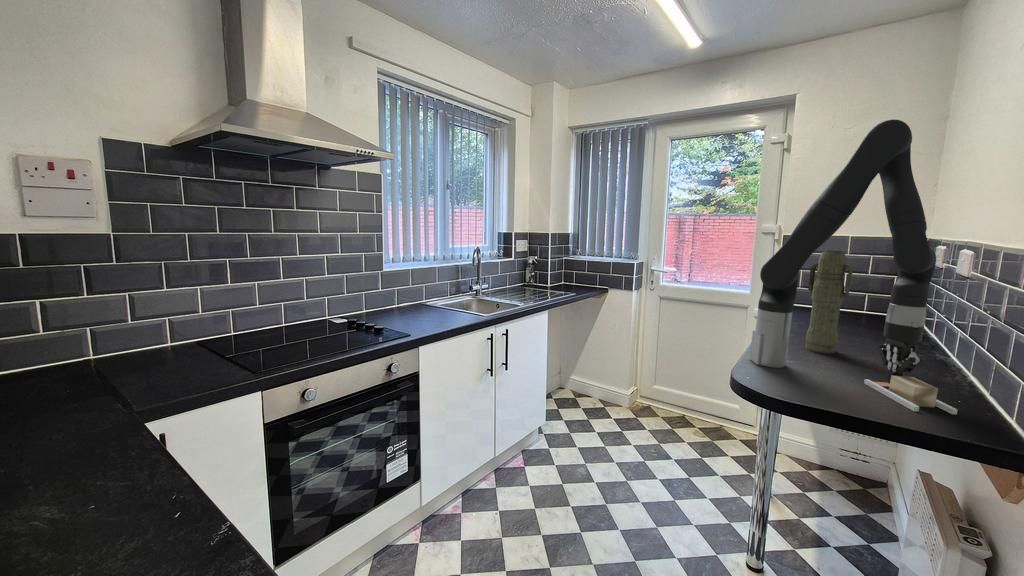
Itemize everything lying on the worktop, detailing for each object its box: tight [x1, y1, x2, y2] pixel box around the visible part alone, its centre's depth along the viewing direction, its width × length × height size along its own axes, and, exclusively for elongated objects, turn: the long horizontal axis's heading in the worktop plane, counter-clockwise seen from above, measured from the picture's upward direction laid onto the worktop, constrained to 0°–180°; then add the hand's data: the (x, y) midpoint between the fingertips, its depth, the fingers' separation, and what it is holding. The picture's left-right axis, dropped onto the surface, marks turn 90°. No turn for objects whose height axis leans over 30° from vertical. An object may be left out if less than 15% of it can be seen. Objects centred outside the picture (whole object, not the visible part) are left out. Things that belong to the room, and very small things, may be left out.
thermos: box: [805, 249, 853, 355], centre depth 148 cm, size 9×12×35 cm
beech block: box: [888, 375, 939, 408], centre depth 108 cm, size 5×8×5 cm, turn 172°
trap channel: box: [863, 378, 958, 416], centre depth 110 cm, size 9×19×1 cm, turn 171°
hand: (893, 384), depth 114 cm, fingers closed
